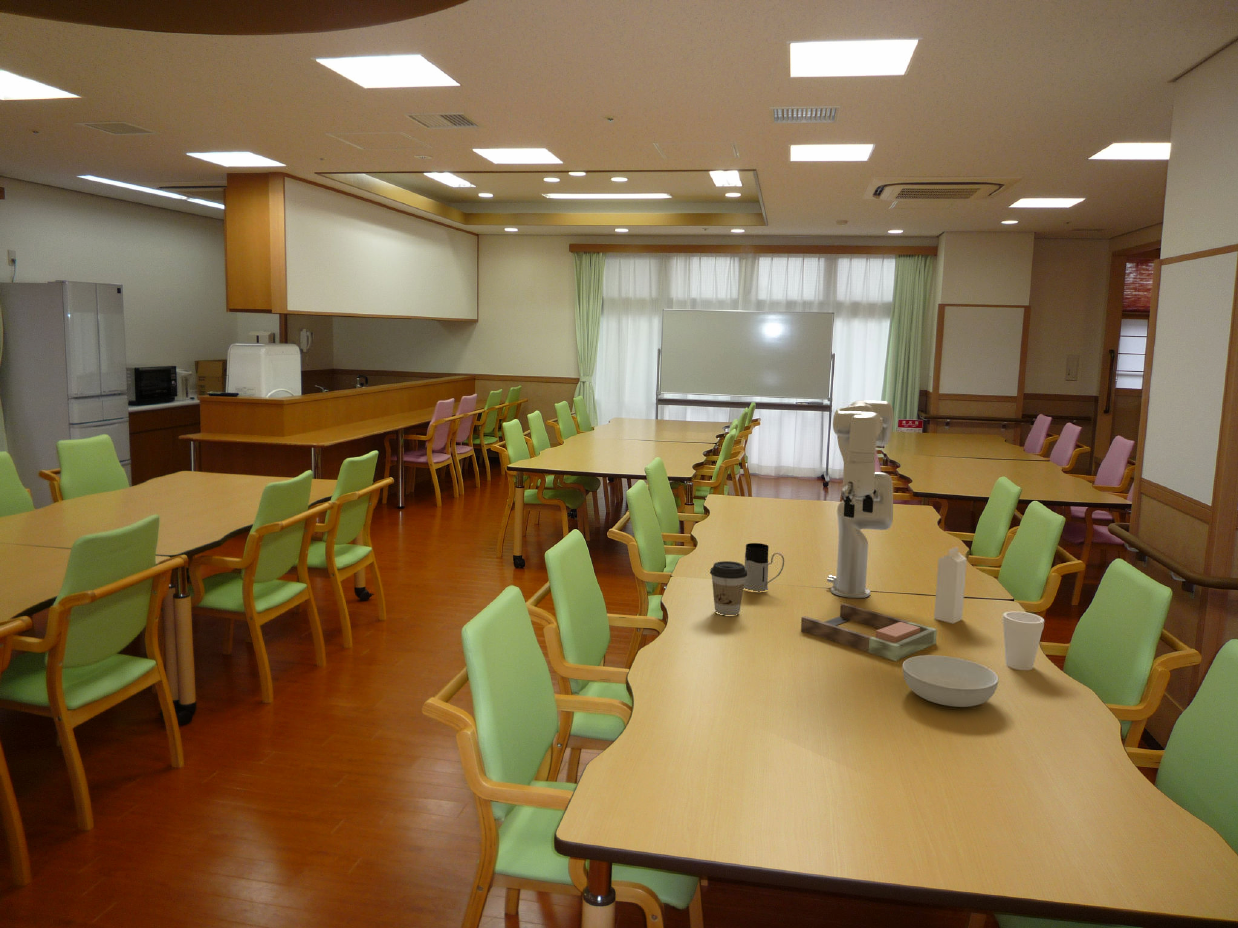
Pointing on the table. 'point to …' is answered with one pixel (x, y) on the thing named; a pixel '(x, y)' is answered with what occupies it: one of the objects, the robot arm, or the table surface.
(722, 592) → the coffee cup
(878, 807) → the table surface
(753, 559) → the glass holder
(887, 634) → the terracotta block
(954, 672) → the serving bowl
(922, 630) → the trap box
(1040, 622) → the foam cup
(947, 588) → the milk
